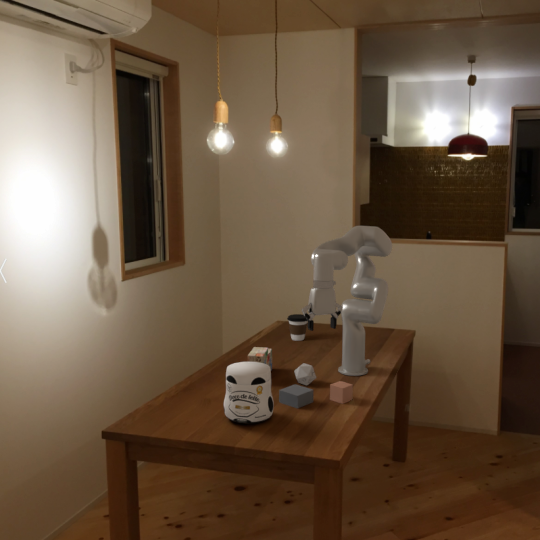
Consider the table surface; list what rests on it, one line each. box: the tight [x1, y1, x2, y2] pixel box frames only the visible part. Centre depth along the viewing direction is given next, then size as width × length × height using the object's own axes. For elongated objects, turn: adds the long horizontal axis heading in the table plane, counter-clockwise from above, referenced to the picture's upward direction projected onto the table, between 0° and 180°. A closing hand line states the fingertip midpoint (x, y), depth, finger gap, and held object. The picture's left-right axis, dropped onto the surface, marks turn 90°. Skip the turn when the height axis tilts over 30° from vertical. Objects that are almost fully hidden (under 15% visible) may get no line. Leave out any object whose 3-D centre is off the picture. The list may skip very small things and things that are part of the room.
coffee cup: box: [286, 313, 308, 342], centre depth 322 cm, size 11×11×12 cm
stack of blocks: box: [247, 346, 273, 371], centre depth 263 cm, size 21×6×12 cm, turn 169°
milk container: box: [223, 361, 275, 425], centre depth 218 cm, size 17×17×18 cm
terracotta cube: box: [329, 380, 354, 404], centre depth 237 cm, size 6×6×6 cm
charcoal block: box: [278, 384, 314, 409], centre depth 234 cm, size 9×9×5 cm
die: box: [294, 362, 317, 387], centre depth 255 cm, size 8×9×10 cm
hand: (322, 329), depth 241 cm, fingers open, 9 cm apart
